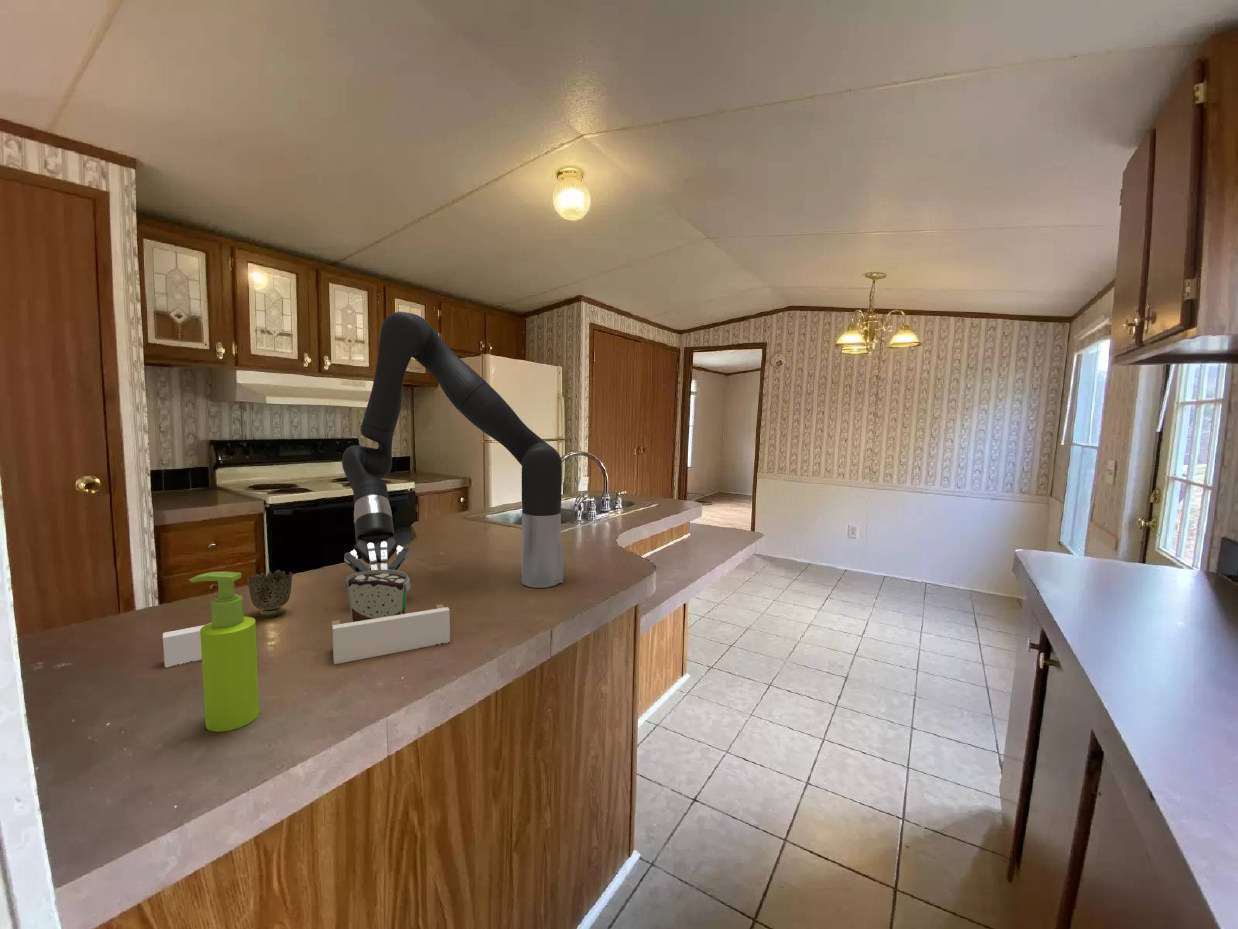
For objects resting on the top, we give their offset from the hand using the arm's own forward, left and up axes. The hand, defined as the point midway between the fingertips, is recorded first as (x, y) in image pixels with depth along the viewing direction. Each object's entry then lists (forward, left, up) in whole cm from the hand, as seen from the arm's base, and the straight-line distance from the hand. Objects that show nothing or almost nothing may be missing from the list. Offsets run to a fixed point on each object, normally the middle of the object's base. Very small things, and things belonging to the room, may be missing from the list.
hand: (381, 592), depth 108 cm
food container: (0, +6, -5) cm, 7 cm away
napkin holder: (+26, +7, -5) cm, 28 cm away
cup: (+19, -8, -5) cm, 21 cm away
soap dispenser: (+22, +30, -5) cm, 37 cm away
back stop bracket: (0, +16, -4) cm, 16 cm away
